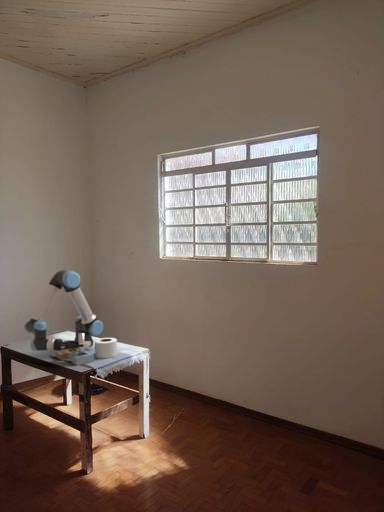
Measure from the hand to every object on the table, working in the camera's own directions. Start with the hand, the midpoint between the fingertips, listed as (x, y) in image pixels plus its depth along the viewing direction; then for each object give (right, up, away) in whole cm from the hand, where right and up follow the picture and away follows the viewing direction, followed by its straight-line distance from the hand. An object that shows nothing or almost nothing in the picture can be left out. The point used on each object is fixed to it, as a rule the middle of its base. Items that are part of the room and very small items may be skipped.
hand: (89, 344), depth 249 cm
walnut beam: (-16, -11, +13) cm, 23 cm away
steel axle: (-5, -11, 0) cm, 12 cm away
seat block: (-5, -12, 0) cm, 13 cm away
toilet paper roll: (+8, -11, +14) cm, 20 cm away
